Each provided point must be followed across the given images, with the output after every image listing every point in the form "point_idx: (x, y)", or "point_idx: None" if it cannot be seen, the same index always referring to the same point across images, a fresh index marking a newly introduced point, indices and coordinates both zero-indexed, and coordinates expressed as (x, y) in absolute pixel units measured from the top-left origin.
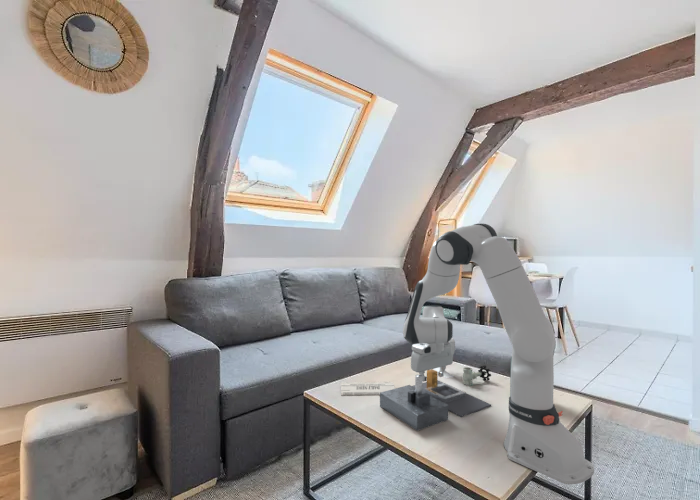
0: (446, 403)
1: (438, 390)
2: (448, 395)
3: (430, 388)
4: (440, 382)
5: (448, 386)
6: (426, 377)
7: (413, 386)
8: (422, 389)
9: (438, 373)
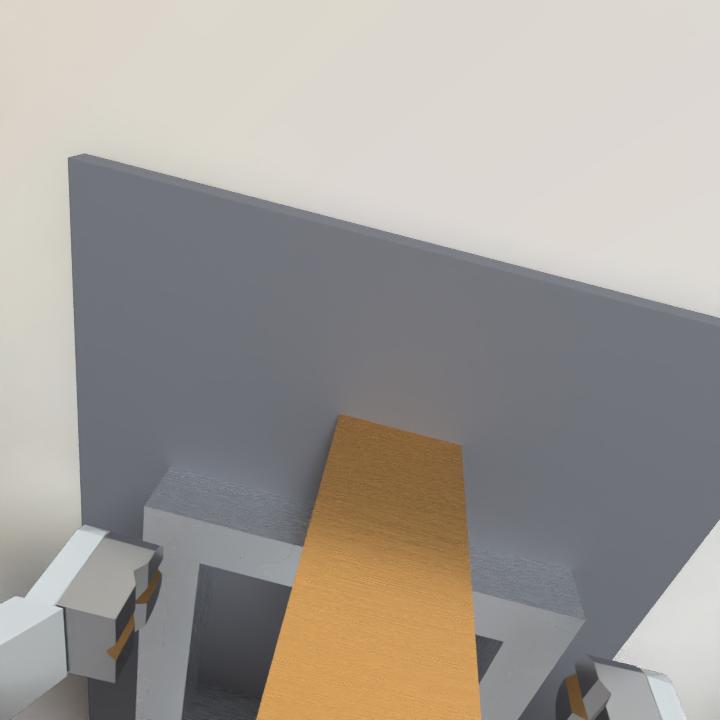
0: None
1: None
2: None
3: (221, 561)
4: (714, 476)
5: (486, 685)
6: (118, 669)
7: (192, 226)
8: (223, 403)
9: (601, 716)
